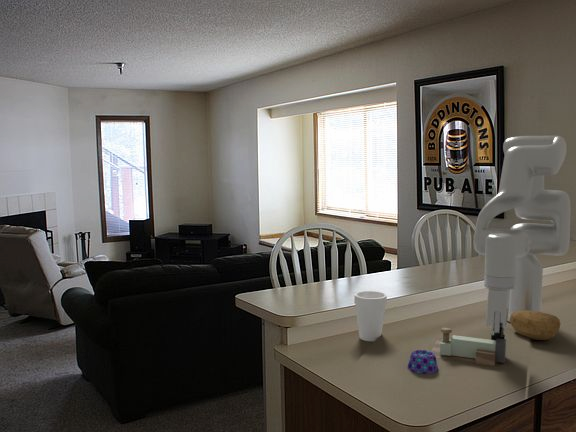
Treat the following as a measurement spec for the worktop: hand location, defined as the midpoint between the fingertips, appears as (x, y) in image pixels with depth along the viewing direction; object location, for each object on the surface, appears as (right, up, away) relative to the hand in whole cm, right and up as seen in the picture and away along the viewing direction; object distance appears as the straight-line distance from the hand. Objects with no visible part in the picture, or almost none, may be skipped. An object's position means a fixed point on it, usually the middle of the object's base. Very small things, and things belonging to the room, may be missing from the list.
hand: (497, 349), depth 148 cm
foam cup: (-31, -1, +18) cm, 36 cm away
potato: (+17, -1, +17) cm, 24 cm away
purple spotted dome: (-22, -4, -8) cm, 23 cm away
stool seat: (-7, -2, +3) cm, 9 cm away
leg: (-7, -1, -1) cm, 7 cm away
